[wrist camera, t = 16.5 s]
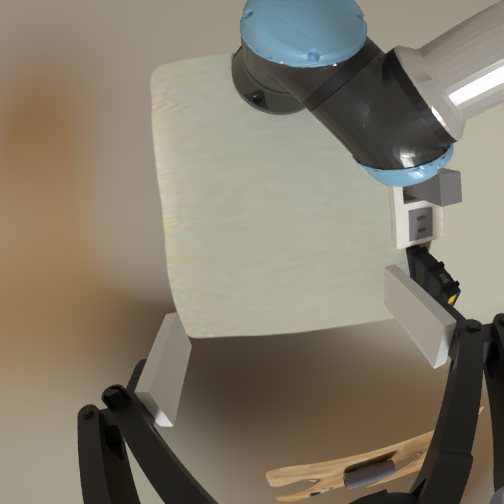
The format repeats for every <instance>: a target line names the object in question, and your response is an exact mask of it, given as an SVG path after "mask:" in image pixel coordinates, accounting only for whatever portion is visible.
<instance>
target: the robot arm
mask: <svg viewBox="0 0 504 504" xmlns="http://www.w3.org/2000/svg"><path fill="white" fill-rule="evenodd" d="M363 16H364V14H363V12H362V11H361V9H360V7H359V6H358V5H357V4H356V2H355V1H354V0H248V1H247V3H246V5H245V7H244V10H243V16H242V18H241V22H240V33H241V42H242V46H241V47H240V48H239V50H238V51H237V52H236V54H235V57H234V59H233V63H232V78H233V82H234V85H235V88H236V90H237V92H238V93H239V95H240V96H241V97H242V98H243V99H244V100H245V101H246V102H247V103H248V104H249V105H251V106H252V107H254V108H256V109H258V110H260V111H262V112H265V113H269V114H275V115H287V114H293V113H296V112H299V111H301V110H303V109H305V108H307V109H308V110H309V111H310V112H311V113H312V114H313V115H314V116H315V117H316V118H317V119H318V120H319V121H320V122H321V123H322V124H323V125H324V126H325V127H326V128H327V129H328V130H329V131H330V132H331V133H332V134H333V135H334V136H335V137H336V138H337V139H338V140H339V141H340V142H341V143H342V144H343V145H344V146H345V147H346V148H347V149H348V150H349V151H350V153H351V154H352V155H353V158H354V159H355V161H356V162H357V163H358V164H359V165H361V166H362V167H363V168H365V169H366V170H367V171H368V172H369V173H370V175H371V176H372V177H373V178H374V179H375V180H377V181H379V182H380V183H382V184H384V185H387V186H392V187H404V186H410V185H414V184H417V183H420V182H423V181H425V180H427V179H429V178H431V177H433V176H434V175H436V174H437V173H438V171H437V169H440V168H444V167H445V166H446V165H447V164H448V163H449V161H450V159H451V157H452V155H453V143H454V142H457V141H459V140H461V139H462V135H463V131H464V126H465V123H466V121H467V120H468V119H470V118H472V117H474V116H476V115H478V114H480V113H482V112H484V111H486V110H488V109H490V108H493V107H495V106H496V105H499V104H501V103H503V102H504V0H502V1H500V2H498V3H496V4H494V5H492V6H490V7H488V8H486V9H484V10H482V11H481V12H479V13H477V14H475V15H473V16H472V17H470V18H468V19H466V20H465V21H463V22H461V23H460V24H458V25H456V26H454V27H453V28H452V29H450V30H448V31H446V32H445V33H443V34H441V35H440V36H438V37H437V38H435V39H434V40H432V41H430V42H429V43H427V44H426V45H424V46H423V47H421V48H419V49H413V48H408V47H404V46H397V47H394V48H393V49H392V50H390V51H389V52H388V53H386V54H385V53H384V52H383V51H381V49H380V48H378V46H377V45H376V44H374V42H373V41H372V40H371V39H369V38H368V37H367V35H366V33H367V24H366V22H365V21H364V20H363ZM385 305H386V306H387V308H388V309H389V310H390V311H391V313H392V314H393V315H394V316H395V318H396V319H397V320H398V321H399V323H400V324H401V325H402V327H403V328H404V329H405V330H406V332H407V333H408V334H409V336H410V337H411V338H412V340H413V341H414V342H415V343H416V345H417V346H418V347H419V349H420V350H421V352H422V353H423V354H424V356H425V357H426V358H427V360H428V361H429V363H430V364H431V365H432V367H433V368H437V367H439V366H441V365H443V364H445V363H446V359H447V356H448V355H449V357H450V358H451V359H452V360H451V363H450V366H449V369H448V372H447V374H448V379H447V384H446V389H445V394H444V398H443V402H442V406H441V410H440V414H439V417H438V421H437V424H436V428H435V431H434V434H433V437H432V440H431V443H430V446H429V449H428V452H427V454H426V457H425V460H424V462H423V465H422V467H421V470H420V472H419V475H418V477H417V479H416V480H415V482H414V484H413V485H412V487H411V489H410V491H409V493H401V492H395V493H394V492H393V493H387V490H386V489H385V490H382V491H379V492H377V493H374V494H371V495H368V496H364V497H361V498H359V499H357V500H355V501H353V502H351V503H349V504H459V503H460V500H461V498H462V495H463V492H464V489H465V486H466V484H467V480H468V477H469V474H470V470H471V467H472V462H473V456H472V455H471V449H472V445H473V441H474V435H475V431H476V426H477V420H478V414H479V407H480V399H481V390H482V378H483V370H484V375H485V380H486V385H487V391H488V397H489V404H490V412H491V421H492V433H493V451H494V452H493V455H494V469H493V470H494V471H493V475H494V491H495V494H494V495H493V496H492V498H491V501H490V503H489V504H504V314H502V313H500V314H497V315H496V316H495V317H494V320H493V323H490V324H485V325H482V324H481V323H480V322H479V321H477V320H473V319H468V320H466V319H465V318H464V317H463V316H462V315H461V314H460V313H459V312H458V311H457V310H456V309H455V308H454V307H453V306H452V305H450V304H449V303H448V302H447V301H446V300H445V299H444V298H442V297H440V296H438V295H433V296H430V295H429V294H428V293H427V292H426V291H425V290H424V289H422V288H421V287H420V286H419V285H418V284H417V283H416V282H415V281H414V280H412V279H411V278H410V277H409V276H408V275H407V274H406V273H404V272H403V271H402V270H401V269H400V268H399V267H398V266H396V265H395V264H394V265H391V266H387V267H385ZM191 347H192V345H191V343H190V341H189V339H188V336H187V334H186V332H185V329H184V327H183V325H182V322H181V320H180V318H179V315H178V313H171V314H166V316H165V319H164V321H163V323H162V325H161V328H160V330H159V332H158V335H157V337H156V340H155V342H154V344H153V347H152V349H151V351H150V354H149V357H148V359H142V360H141V361H140V362H139V363H138V364H137V365H136V367H135V369H134V371H133V374H132V376H131V379H130V381H129V383H128V385H127V388H126V390H125V388H124V387H123V386H122V385H118V384H117V385H112V386H110V387H108V388H107V389H106V390H105V391H104V392H103V394H102V401H103V402H104V403H105V405H106V406H107V407H108V408H106V409H102V410H99V409H98V408H97V407H96V406H95V405H92V404H90V405H86V406H84V407H83V408H82V409H81V410H80V411H79V413H78V454H79V468H80V478H81V487H82V494H83V501H84V504H141V503H140V501H139V497H138V494H137V491H136V487H135V484H134V480H133V476H132V472H131V468H130V464H129V460H128V456H127V451H126V446H125V442H126V443H127V444H128V446H129V448H130V450H131V452H132V453H133V455H134V457H135V459H136V460H137V462H138V463H139V465H140V467H141V469H142V470H143V472H144V473H145V475H146V477H147V478H148V480H149V481H150V483H151V484H152V486H153V487H154V489H155V490H156V491H157V493H158V494H159V496H160V497H161V499H162V500H163V501H164V503H165V504H218V503H217V502H216V501H215V500H214V499H213V498H212V497H211V496H210V495H209V494H208V492H207V491H206V490H205V489H204V488H203V487H202V486H201V485H200V484H199V483H198V482H197V480H196V479H195V478H194V477H193V476H192V475H191V474H190V472H189V471H188V470H187V469H186V468H185V467H184V465H183V464H182V463H181V462H180V460H179V459H178V458H177V457H176V455H175V454H174V453H173V452H172V450H171V449H170V448H169V447H168V445H167V444H166V442H165V441H164V440H163V438H162V437H161V435H160V434H159V433H158V431H157V430H156V428H155V427H154V422H155V421H156V422H157V423H158V424H159V426H174V422H175V417H176V412H177V408H178V403H179V398H180V394H181V390H182V385H183V381H184V377H185V372H186V368H187V363H188V360H189V355H190V351H191Z"/></svg>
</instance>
